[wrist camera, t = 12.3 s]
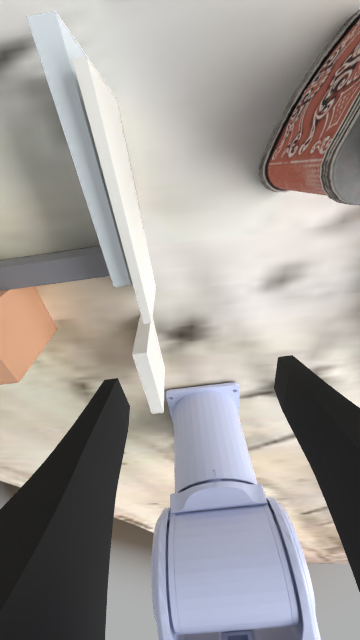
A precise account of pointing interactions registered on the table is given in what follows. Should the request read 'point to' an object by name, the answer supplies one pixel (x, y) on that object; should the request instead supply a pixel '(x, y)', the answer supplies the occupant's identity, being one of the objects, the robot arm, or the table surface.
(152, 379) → the white thin slab
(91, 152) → the sliding door
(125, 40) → the table surface
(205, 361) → the table surface
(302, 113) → the lighter
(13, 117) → the table surface
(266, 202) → the table surface
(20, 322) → the block
